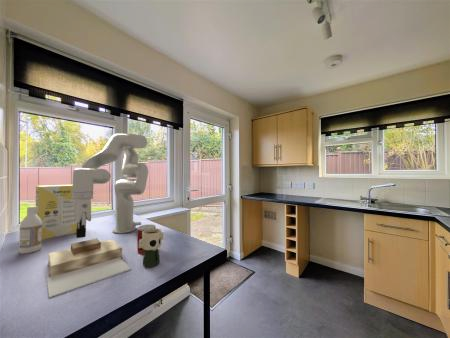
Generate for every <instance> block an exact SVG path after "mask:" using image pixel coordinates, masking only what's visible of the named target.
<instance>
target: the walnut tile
mask: <svg viewBox="0 0 450 338" xmlns="http://www.w3.org/2000/svg"><path fill="white" fill-rule="evenodd" d="M101 242H102V241H100V240H99V239H98V238H91V239H88V240H87V239H86V240H82V241H78V242H73V243H70V248H71V251H72V253H73V255H75V254H79V253H83V252H87V251H91V250H96V249H100V248H101Z"/></svg>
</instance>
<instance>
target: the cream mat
mask: <svg viewBox="0 0 450 338" xmlns="http://www.w3.org/2000/svg"><path fill="white" fill-rule="evenodd" d="M131 270H132V268H131V267H130V266H129V265H128V264H127V263H126V262H125V260H123V258H122V257H119V258H115V259H112V260H109V261H105V262H102V263H98V264H95V265H91V266H88V267H85V268H81V269H78V270H74V271H71V272H67V273H64V274H61V275H57V276H54V277H51V276H50V277H47V278H46V284H47V292H48V293H49V294H48V299H51V298H54V297H57V296H59V295H63V294H66V293H68V292H72V291H75V290H77V289H79V288H83V287H85V286H89V285H92V284H94V283H96V282H99V281H103V280H106V279H108V278H111V277H114V276H117V275H120V274H123V273H125V272H129V271H131ZM65 292H66V293H65ZM53 296H54V297H53Z"/></svg>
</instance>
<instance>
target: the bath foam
mask: <svg viewBox="0 0 450 338" xmlns="http://www.w3.org/2000/svg"><path fill="white" fill-rule="evenodd" d="M18 239H19V241H18V243H19V246H18V247H19V248H18V253H19V254H23V255H24V254H30V253H35V252H37V251H40V250H41V249H42V242H43V239H42V221H41V219H40V218H39V216H38V215H37V214H36V205H31V206H27V207H26V215H25V217H24V218H23V219H22V220H21V222H20V225H19V238H18Z"/></svg>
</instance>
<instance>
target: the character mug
mask: <svg viewBox="0 0 450 338" xmlns="http://www.w3.org/2000/svg"><path fill="white" fill-rule="evenodd" d="M162 241H164V232H163V231H162V229H160V228H156V229H147V230H144V231H143V232H142V239H140V240H139V248H142V249H144V250H145V252H144V254H143V258H142V266H144V267H146V268H153V267H155V266H156V264H157V265H159V264H161V258H160V252H159V248H161V246H162Z"/></svg>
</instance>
